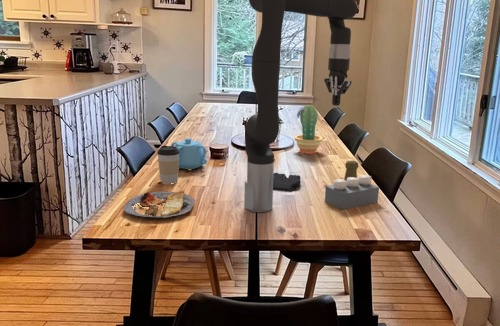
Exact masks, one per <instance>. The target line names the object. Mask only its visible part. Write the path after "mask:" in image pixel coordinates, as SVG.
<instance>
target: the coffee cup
mask: <svg viewBox="0 0 500 326" xmlns="http://www.w3.org/2000/svg"><path fill="white" fill-rule="evenodd" d="M179 153H180V152H179V150H178V149H177V148H176V147H175V145H174V146H171V145H161V147H159V149H158V150H157V158H158V159H157V162H158V170H159V171H158V173H159V176H160V178H159V179H160V183H161V182H162V183H165V184H164V185H166V184H170V185H172V184H171V183H175V182H177V181H179V180H178V179H179V172H180V171H179V169H180V168H179ZM162 183H161V184H162ZM177 183H178V182H177ZM175 184H176V183H175Z"/></svg>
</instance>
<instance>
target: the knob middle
mask: <svg viewBox="0 0 500 326" xmlns="http://www.w3.org/2000/svg"><path fill="white" fill-rule="evenodd" d="M347 186H349V187H350V188H355V187H358V186H359V177H357V178H355V177H348V178H347Z"/></svg>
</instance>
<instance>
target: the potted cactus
mask: <svg viewBox="0 0 500 326" xmlns="http://www.w3.org/2000/svg"><path fill="white" fill-rule="evenodd" d="M318 115H319V113H318V111H317V109H316V107H315V106H314V105H305V106H304V107H300V109H299V110H298V112H297V113H296V116H297V119H299V120H300V124H301V130H302V134H298V135H294V140H295V141H296V145H297V148H299V149H298V150H299V153H301V154H304V153H306V154H307V155H309V154H310V155H314V154H316V153H317V150H318V149H319V147H320V145H321V143H322V142H323V141H324V138H323V136H319V135H316V133H315V131H316V125H317V122H318V117H319V116H318ZM313 153H314V154H313ZM306 154H305V155H306Z"/></svg>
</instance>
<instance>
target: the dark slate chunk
mask: <svg viewBox="0 0 500 326" xmlns="http://www.w3.org/2000/svg"><path fill="white" fill-rule="evenodd" d="M301 181H302V180H301V175H298V174H297V175H296V174H289V175H288V177H287V176H286V174H285V173H279V172H274V176H273V191H279V192H288V193H292V192H296V191H297V190H298V189H299V188H300V187H301V183H302V182H301Z"/></svg>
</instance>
